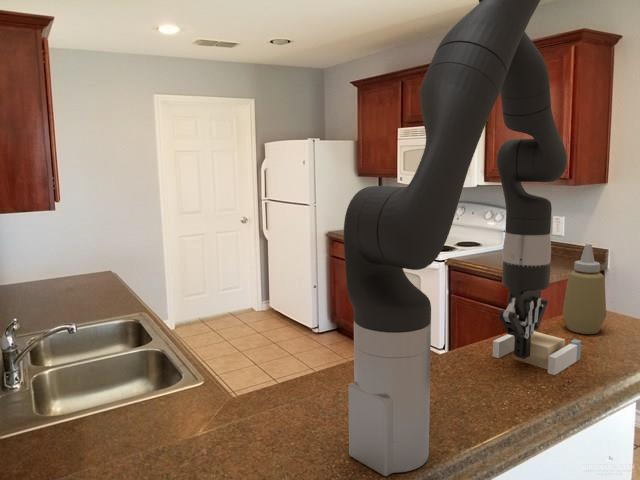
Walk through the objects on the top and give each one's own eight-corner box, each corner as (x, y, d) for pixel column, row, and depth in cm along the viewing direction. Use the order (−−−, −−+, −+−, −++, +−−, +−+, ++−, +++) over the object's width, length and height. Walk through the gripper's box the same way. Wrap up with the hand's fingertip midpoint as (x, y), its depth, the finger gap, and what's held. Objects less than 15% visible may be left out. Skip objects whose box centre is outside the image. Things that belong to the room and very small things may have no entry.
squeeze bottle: (594, 339, 103) (600, 250, 100) (554, 329, 109) (559, 244, 106) (611, 330, 108) (618, 244, 105) (572, 321, 114) (577, 240, 111)
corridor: (554, 375, 87) (555, 355, 87) (492, 356, 96) (493, 338, 95) (580, 359, 94) (581, 340, 93) (519, 342, 102) (520, 326, 101)
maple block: (547, 369, 90) (548, 347, 89) (515, 359, 94) (516, 338, 94) (563, 360, 93) (565, 339, 93) (532, 351, 98) (533, 331, 97)
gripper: (528, 268, 81) (523, 374, 84) (566, 256, 90) (560, 352, 92) (485, 261, 87) (482, 361, 89) (524, 250, 95) (520, 341, 98)
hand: (522, 356), depth 91 cm, fingers closed
